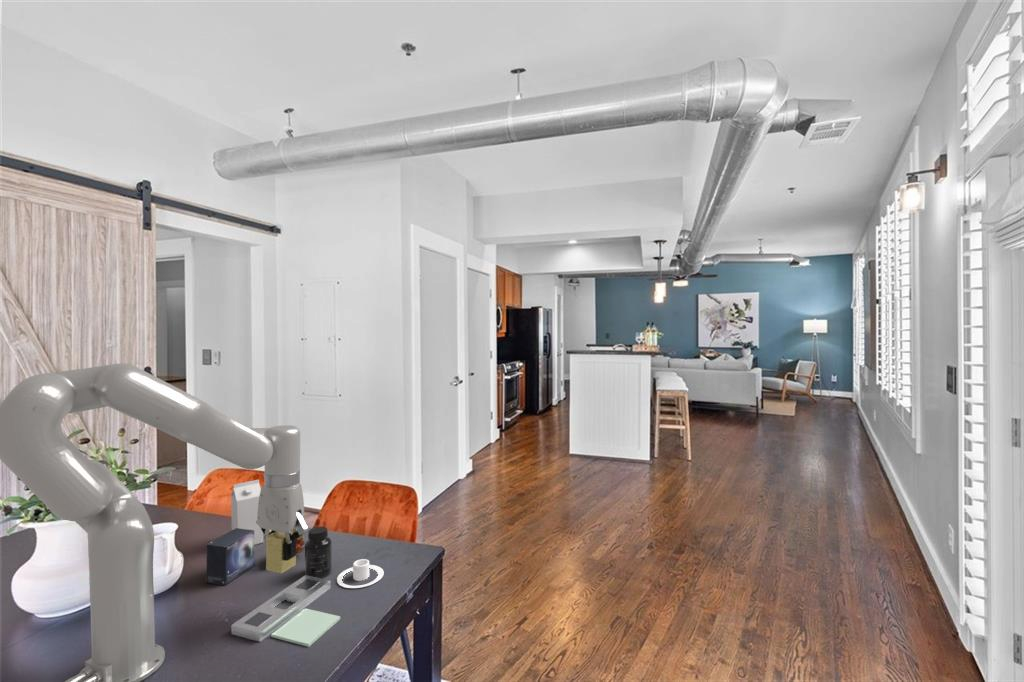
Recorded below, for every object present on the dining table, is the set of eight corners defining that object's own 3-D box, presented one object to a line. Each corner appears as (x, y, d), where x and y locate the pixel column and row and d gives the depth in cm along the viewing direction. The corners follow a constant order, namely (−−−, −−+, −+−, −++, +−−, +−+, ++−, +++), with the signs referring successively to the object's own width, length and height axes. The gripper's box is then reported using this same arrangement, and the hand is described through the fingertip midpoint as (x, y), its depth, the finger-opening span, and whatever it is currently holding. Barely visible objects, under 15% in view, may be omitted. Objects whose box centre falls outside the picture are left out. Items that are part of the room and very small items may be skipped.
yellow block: (281, 573, 109) (281, 538, 109) (266, 570, 111) (266, 535, 110) (296, 564, 113) (296, 531, 113) (281, 561, 115) (281, 528, 115)
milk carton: (231, 542, 148) (230, 481, 147) (256, 535, 153) (255, 476, 152) (237, 550, 143) (236, 487, 142) (263, 542, 147) (262, 482, 147)
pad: (308, 646, 99) (308, 644, 99) (271, 637, 103) (271, 634, 103) (340, 619, 109) (340, 616, 109) (305, 610, 112) (305, 608, 112)
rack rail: (260, 641, 101) (259, 632, 101) (231, 634, 104) (231, 624, 103) (330, 587, 122) (330, 579, 122) (305, 582, 124) (305, 574, 124)
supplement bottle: (305, 569, 131) (304, 526, 131) (331, 565, 134) (331, 522, 133) (304, 582, 125) (304, 537, 124) (332, 577, 127) (331, 532, 127)
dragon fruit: (306, 555, 143) (273, 580, 132) (287, 536, 144) (253, 559, 133) (316, 537, 140) (283, 561, 129) (297, 517, 141) (262, 540, 130)
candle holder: (336, 594, 120) (335, 577, 120) (337, 571, 131) (337, 555, 131) (385, 586, 123) (385, 569, 123) (382, 564, 135) (382, 549, 135)
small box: (226, 586, 123) (225, 546, 122) (205, 583, 124) (204, 544, 124) (256, 566, 133) (255, 529, 133) (236, 563, 134) (235, 527, 134)
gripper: (241, 479, 111) (240, 557, 111) (299, 488, 105) (298, 569, 106) (267, 471, 118) (266, 544, 118) (322, 478, 113) (321, 555, 113)
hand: (281, 555), depth 112 cm, fingers closed on yellow block, 4 cm apart
